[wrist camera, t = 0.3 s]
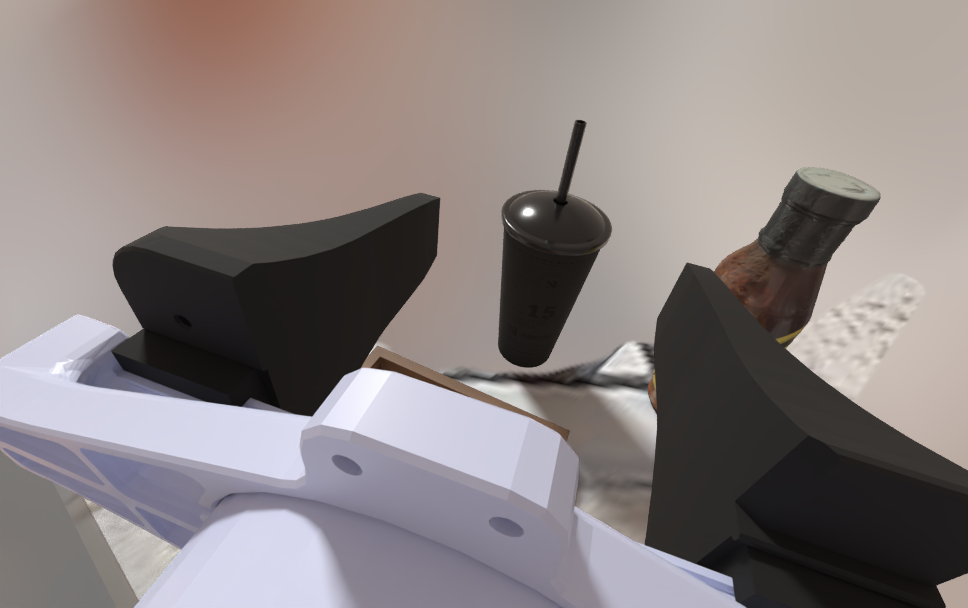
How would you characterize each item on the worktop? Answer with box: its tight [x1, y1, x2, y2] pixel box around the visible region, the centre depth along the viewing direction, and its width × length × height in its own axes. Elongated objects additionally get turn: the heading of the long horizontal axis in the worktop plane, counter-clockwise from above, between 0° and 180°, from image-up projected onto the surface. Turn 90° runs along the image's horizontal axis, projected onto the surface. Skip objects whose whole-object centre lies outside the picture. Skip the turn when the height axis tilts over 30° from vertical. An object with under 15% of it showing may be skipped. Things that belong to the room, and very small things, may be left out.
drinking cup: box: [498, 120, 612, 368], centre depth 31 cm, size 8×8×20 cm
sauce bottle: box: [648, 167, 880, 411], centre depth 28 cm, size 7×6×20 cm
